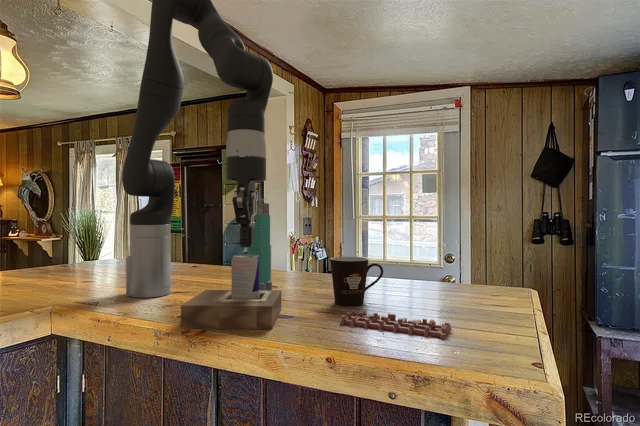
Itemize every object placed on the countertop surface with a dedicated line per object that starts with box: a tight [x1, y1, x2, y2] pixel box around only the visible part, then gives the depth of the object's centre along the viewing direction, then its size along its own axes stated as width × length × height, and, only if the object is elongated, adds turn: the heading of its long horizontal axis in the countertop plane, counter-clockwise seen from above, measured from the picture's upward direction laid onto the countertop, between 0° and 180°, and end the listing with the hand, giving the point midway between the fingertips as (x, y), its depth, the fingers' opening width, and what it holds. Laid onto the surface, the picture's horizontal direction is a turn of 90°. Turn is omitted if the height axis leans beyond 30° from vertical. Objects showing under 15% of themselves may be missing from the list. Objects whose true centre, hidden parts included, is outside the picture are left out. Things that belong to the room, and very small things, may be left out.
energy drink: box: [231, 253, 260, 300], centre depth 77 cm, size 5×5×12 cm
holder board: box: [180, 289, 282, 330], centre depth 77 cm, size 16×14×4 cm
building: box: [246, 182, 273, 290], centre depth 98 cm, size 6×6×30 cm
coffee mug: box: [329, 256, 384, 308], centre depth 89 cm, size 12×9×10 cm
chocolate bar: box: [339, 309, 453, 340], centre depth 71 cm, size 7×19×2 cm, turn 64°
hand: (246, 246), depth 77 cm, fingers closed
